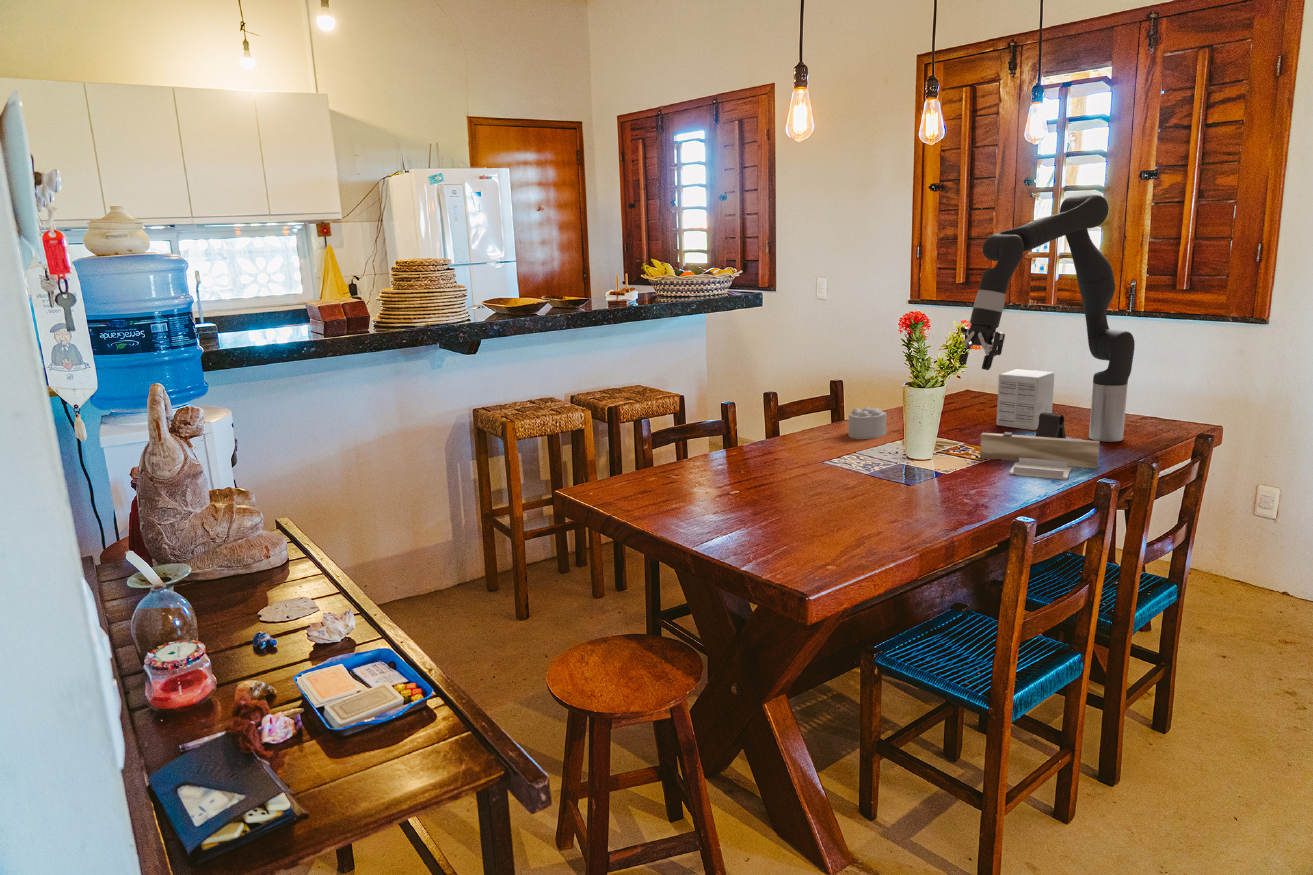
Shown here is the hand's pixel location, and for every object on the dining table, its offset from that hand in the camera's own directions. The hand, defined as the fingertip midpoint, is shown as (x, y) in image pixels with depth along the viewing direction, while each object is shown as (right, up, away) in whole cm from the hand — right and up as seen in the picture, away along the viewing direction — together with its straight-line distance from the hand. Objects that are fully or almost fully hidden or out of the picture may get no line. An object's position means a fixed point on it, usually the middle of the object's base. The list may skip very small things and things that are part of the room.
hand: (973, 367), depth 227 cm
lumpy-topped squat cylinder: (-18, -19, +46) cm, 53 cm away
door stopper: (+27, -24, +12) cm, 38 cm away
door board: (+20, -26, +5) cm, 33 cm away
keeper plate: (+16, -29, -5) cm, 33 cm away
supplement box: (+36, -15, +50) cm, 63 cm away
